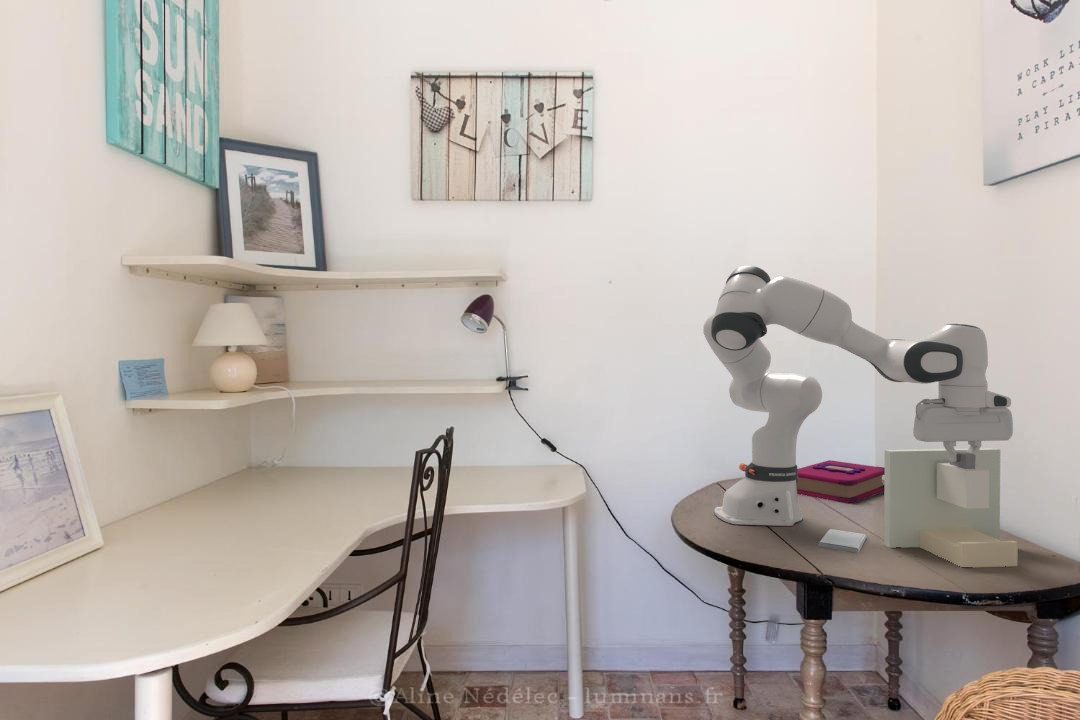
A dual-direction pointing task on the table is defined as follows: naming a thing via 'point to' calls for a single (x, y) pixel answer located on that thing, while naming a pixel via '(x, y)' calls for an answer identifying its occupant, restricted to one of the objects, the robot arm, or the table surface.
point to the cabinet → (963, 483)
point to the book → (840, 481)
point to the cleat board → (943, 511)
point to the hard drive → (843, 540)
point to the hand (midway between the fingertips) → (962, 461)
